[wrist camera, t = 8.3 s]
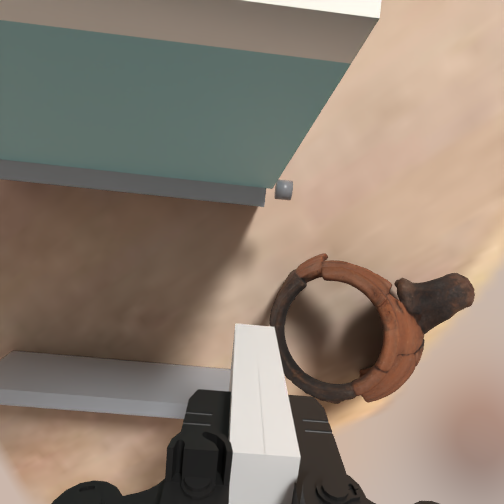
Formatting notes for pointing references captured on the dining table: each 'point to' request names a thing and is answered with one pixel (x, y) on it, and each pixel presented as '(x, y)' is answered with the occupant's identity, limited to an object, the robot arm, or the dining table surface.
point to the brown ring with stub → (392, 317)
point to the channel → (111, 370)
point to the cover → (172, 82)
